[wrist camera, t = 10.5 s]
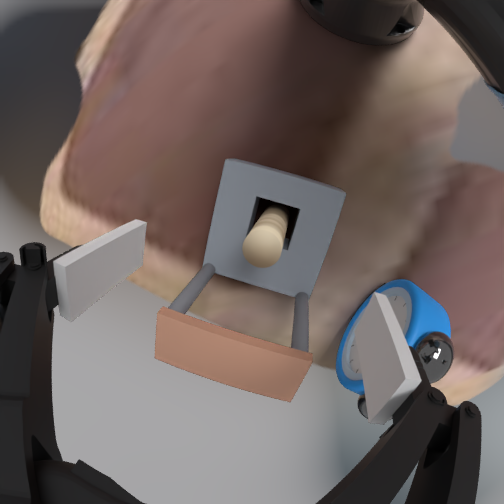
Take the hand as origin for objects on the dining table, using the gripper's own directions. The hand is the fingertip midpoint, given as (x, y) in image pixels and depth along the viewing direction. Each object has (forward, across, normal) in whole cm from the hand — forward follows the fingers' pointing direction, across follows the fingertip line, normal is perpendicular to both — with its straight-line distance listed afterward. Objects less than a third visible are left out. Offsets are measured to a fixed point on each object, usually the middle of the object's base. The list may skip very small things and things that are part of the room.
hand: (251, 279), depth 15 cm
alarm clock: (+18, +16, -8) cm, 25 cm away
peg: (+18, 0, -1) cm, 18 cm away
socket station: (+17, 0, -4) cm, 18 cm away
